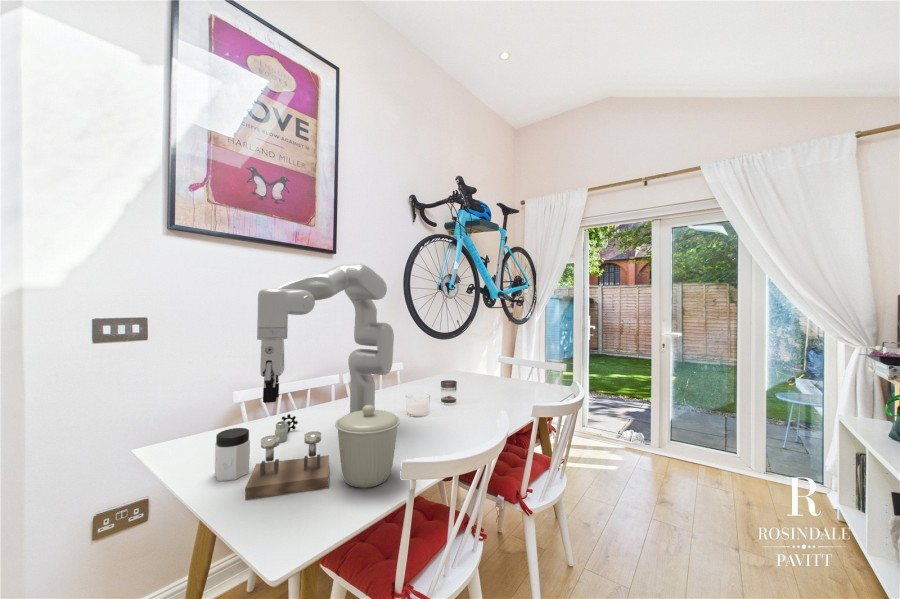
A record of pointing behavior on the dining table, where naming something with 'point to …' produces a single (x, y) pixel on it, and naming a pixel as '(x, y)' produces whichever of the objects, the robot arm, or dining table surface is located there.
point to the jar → (232, 454)
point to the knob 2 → (312, 441)
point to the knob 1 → (269, 446)
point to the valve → (284, 428)
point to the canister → (367, 446)
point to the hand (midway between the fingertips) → (271, 399)
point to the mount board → (288, 477)
